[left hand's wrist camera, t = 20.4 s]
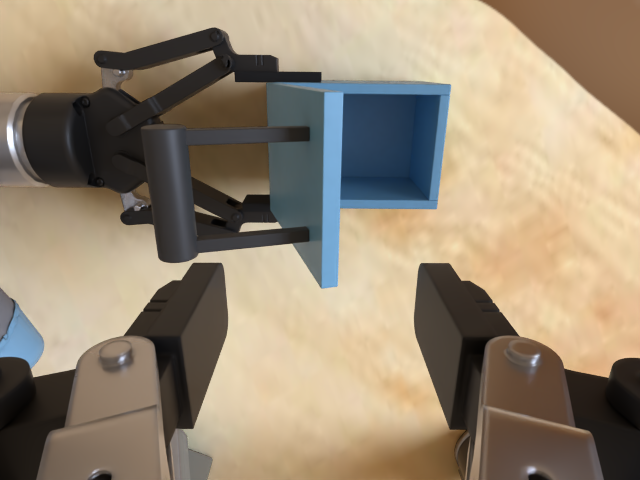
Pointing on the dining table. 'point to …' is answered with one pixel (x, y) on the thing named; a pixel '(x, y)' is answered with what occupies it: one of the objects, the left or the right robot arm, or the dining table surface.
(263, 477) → the dining table surface
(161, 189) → the lid
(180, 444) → the digital clock
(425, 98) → the chest
